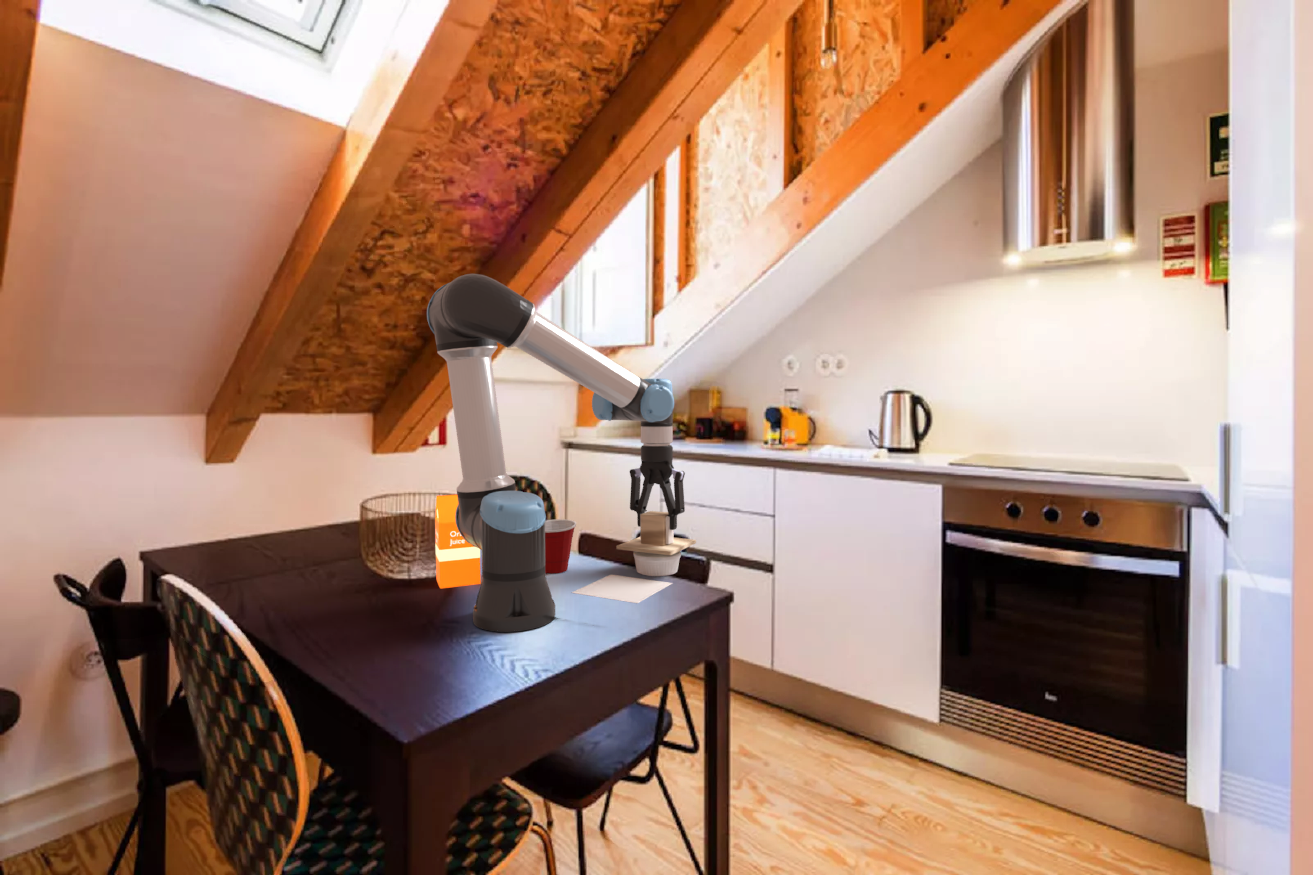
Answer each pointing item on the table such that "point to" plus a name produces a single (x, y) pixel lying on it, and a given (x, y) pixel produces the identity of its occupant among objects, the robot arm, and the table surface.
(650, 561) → the ramekin
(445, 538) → the orange juice
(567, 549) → the plastic cup
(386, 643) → the table surface
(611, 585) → the white square panel
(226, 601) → the table surface
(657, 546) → the birch lid
